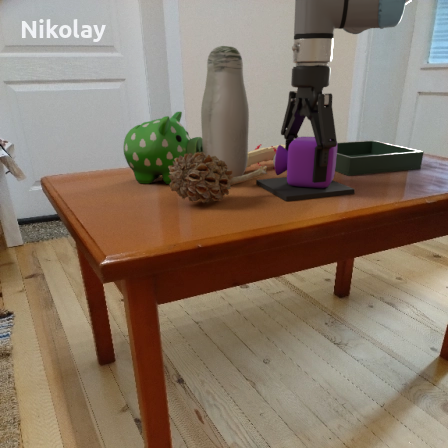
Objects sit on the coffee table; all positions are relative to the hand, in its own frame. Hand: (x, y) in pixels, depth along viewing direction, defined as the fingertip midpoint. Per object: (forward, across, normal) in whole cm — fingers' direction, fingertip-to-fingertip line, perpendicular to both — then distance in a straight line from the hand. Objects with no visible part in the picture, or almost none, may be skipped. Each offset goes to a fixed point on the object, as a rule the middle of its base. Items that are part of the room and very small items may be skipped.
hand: (303, 175), depth 96 cm
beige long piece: (+3, -24, 0) cm, 24 cm away
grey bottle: (+3, -12, -14) cm, 19 cm away
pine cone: (+3, +2, -20) cm, 20 cm away
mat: (+3, 0, 0) cm, 3 cm away
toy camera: (+2, 0, 0) cm, 2 cm away
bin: (+3, -18, +27) cm, 33 cm away
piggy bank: (+3, -20, -27) cm, 34 cm away
